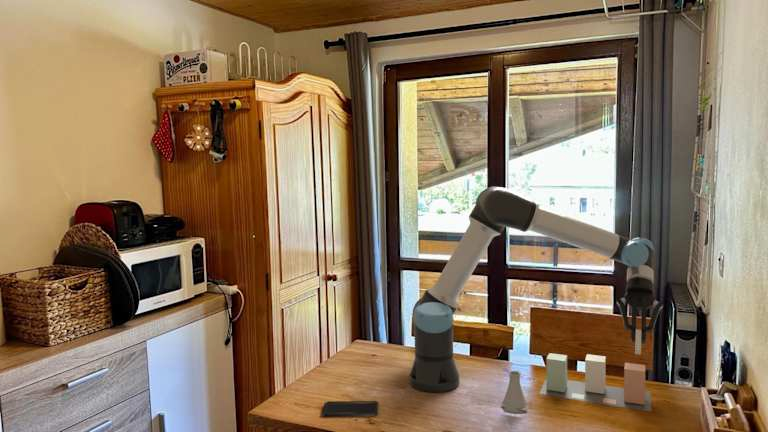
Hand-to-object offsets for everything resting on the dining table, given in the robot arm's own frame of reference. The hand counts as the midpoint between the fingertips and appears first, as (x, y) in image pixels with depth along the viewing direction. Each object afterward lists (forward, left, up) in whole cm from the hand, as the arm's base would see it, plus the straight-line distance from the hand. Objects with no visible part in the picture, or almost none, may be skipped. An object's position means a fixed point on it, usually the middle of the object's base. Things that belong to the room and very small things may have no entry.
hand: (638, 352), depth 149 cm
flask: (-30, -25, -12) cm, 40 cm away
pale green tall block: (-21, -11, -10) cm, 25 cm away
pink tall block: (-1, -11, -10) cm, 15 cm away
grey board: (-11, -10, -12) cm, 18 cm away
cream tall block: (-11, -8, -10) cm, 16 cm away
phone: (-70, -43, -12) cm, 83 cm away
